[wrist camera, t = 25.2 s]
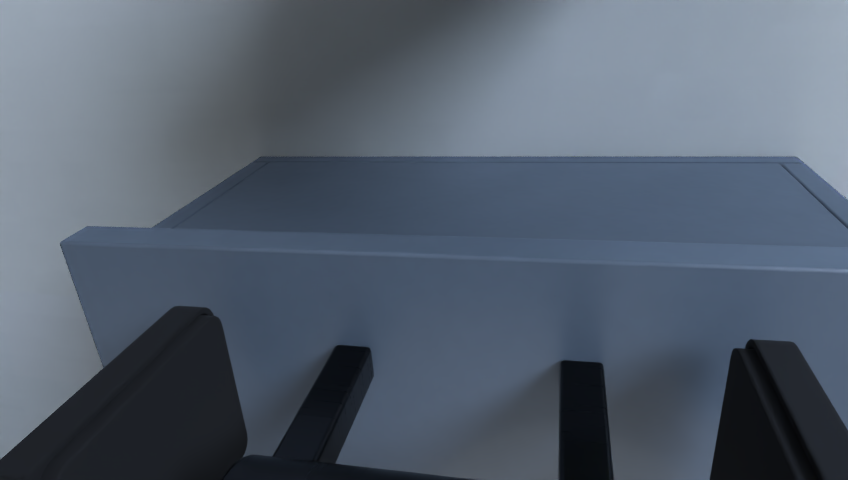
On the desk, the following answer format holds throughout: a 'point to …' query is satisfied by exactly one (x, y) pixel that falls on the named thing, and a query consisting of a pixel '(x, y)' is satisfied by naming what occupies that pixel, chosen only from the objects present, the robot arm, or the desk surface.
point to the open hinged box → (531, 199)
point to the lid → (471, 344)
